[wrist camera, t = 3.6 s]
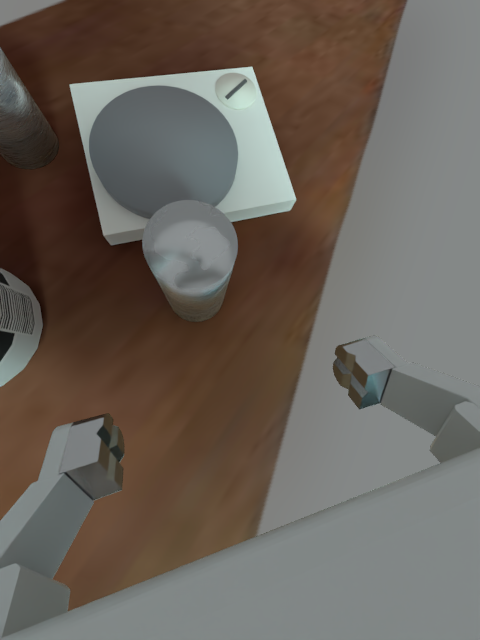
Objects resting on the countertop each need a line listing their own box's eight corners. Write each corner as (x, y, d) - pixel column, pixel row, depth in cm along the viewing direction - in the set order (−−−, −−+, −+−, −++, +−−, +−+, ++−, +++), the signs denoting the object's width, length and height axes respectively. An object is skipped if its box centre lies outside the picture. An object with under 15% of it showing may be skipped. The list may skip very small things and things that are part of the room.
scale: (110, 245, 20) (97, 228, 17) (78, 103, 21) (62, 69, 19) (290, 210, 22) (300, 191, 20) (249, 85, 24) (254, 52, 21)
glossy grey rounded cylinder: (175, 328, 19) (154, 298, 11) (162, 275, 20) (132, 208, 12) (230, 314, 20) (248, 276, 12) (215, 263, 20) (224, 192, 12)
